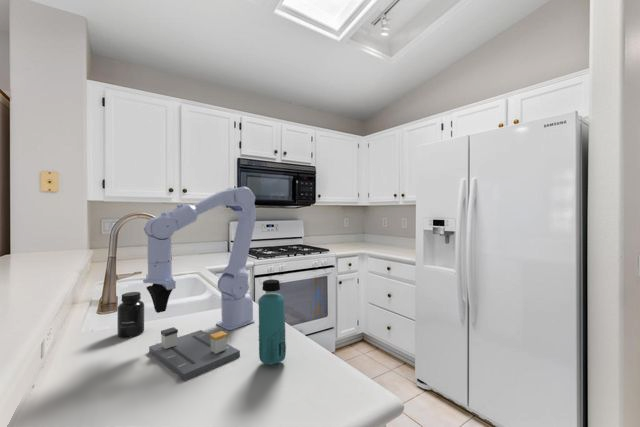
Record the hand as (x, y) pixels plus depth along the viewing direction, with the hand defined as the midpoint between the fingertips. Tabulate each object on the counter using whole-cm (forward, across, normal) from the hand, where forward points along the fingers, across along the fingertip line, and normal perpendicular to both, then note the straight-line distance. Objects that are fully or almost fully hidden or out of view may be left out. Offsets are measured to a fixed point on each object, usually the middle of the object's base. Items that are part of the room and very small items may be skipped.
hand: (160, 311), depth 82 cm
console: (+9, +12, +4) cm, 15 cm away
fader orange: (+8, +18, +7) cm, 20 cm away
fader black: (+8, +6, 0) cm, 9 cm away
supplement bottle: (+10, -16, -2) cm, 18 cm away
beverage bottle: (+10, +30, +14) cm, 35 cm away
